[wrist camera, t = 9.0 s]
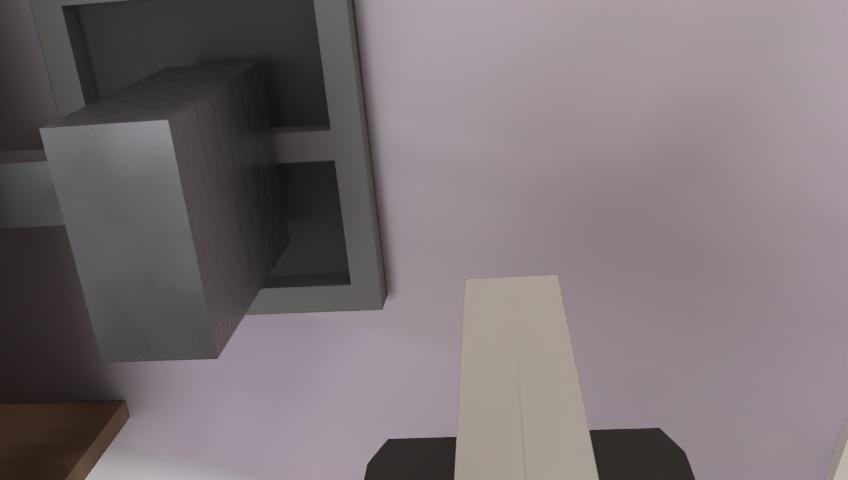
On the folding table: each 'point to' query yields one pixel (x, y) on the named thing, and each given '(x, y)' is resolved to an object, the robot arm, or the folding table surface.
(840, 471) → the tablet stand
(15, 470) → the tunnel
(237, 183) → the dark grey block
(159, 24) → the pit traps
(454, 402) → the folding table surface
